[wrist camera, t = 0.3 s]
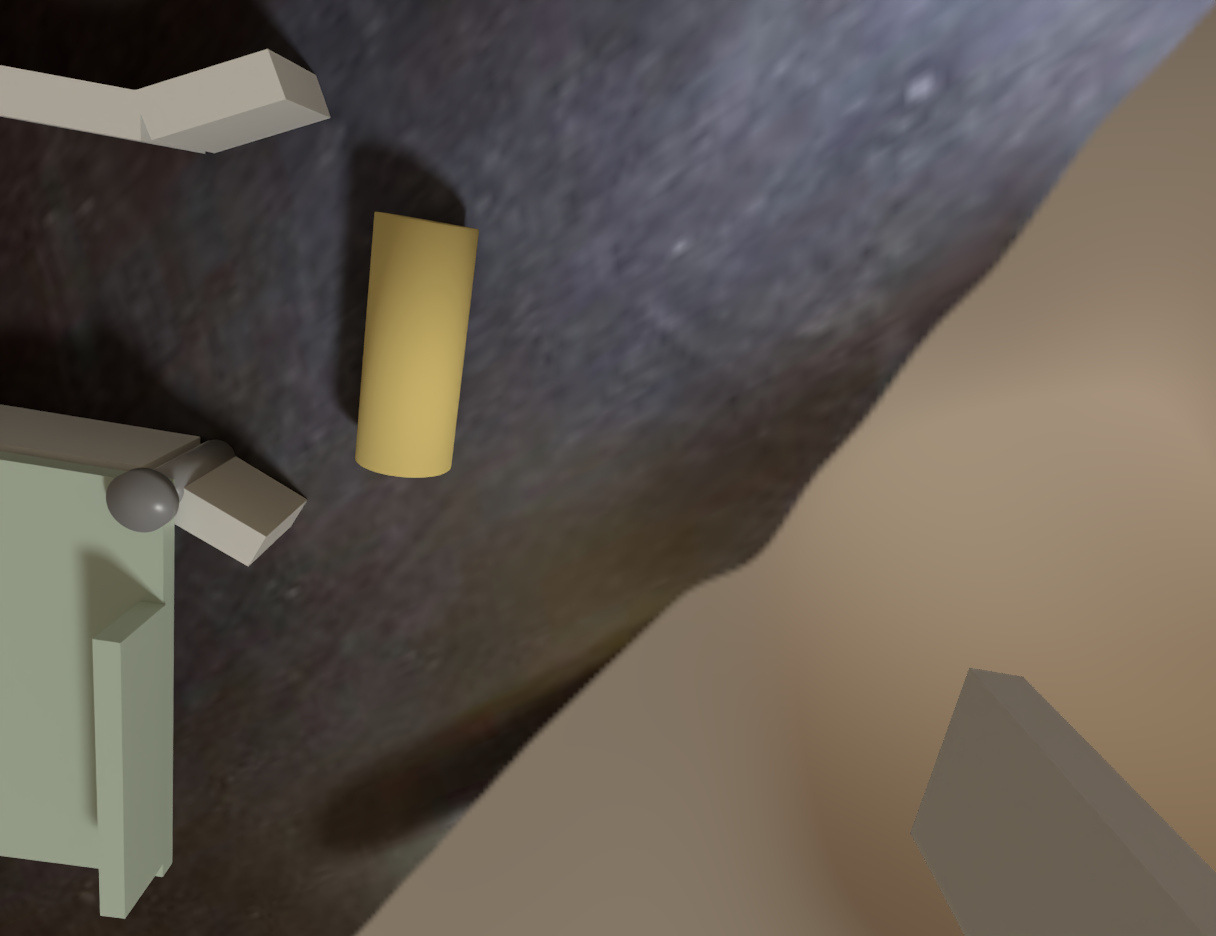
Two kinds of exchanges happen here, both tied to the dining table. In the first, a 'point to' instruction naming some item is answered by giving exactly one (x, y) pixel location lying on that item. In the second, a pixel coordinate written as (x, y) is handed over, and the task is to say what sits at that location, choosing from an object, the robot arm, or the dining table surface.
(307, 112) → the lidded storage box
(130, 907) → the cover
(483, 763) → the dining table surface
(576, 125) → the dining table surface
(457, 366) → the yellow cardboard tube
